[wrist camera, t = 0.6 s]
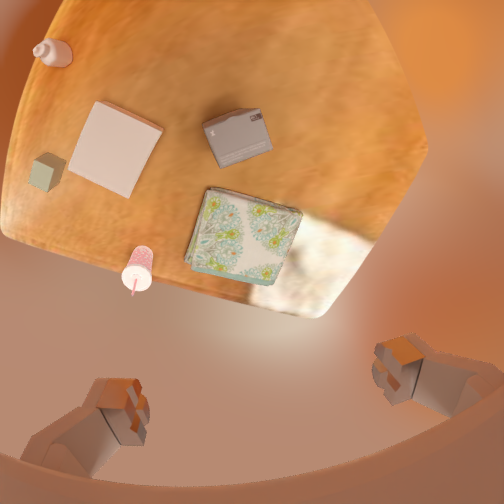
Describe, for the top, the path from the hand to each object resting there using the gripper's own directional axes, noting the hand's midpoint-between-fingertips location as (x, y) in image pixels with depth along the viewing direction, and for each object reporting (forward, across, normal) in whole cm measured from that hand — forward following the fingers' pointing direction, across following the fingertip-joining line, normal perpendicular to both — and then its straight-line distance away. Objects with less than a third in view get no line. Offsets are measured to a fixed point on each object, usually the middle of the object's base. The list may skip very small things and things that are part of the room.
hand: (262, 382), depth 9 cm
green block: (+46, +34, -15) cm, 59 cm away
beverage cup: (+54, +19, +8) cm, 58 cm away
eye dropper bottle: (+40, +28, -36) cm, 61 cm away
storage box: (+47, +19, -16) cm, 53 cm away
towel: (+54, -3, +6) cm, 55 cm away
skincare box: (+47, -2, -16) cm, 50 cm away
